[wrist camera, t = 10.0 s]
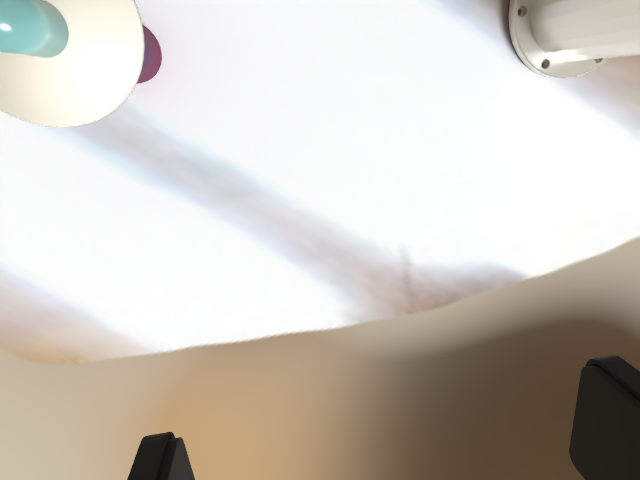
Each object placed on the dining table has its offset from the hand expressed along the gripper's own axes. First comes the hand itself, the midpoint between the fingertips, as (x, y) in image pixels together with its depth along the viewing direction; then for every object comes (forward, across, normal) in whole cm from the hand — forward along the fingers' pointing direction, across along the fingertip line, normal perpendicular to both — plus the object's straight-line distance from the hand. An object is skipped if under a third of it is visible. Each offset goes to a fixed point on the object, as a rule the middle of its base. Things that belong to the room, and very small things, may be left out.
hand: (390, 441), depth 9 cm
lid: (+19, +13, -12) cm, 26 cm away
